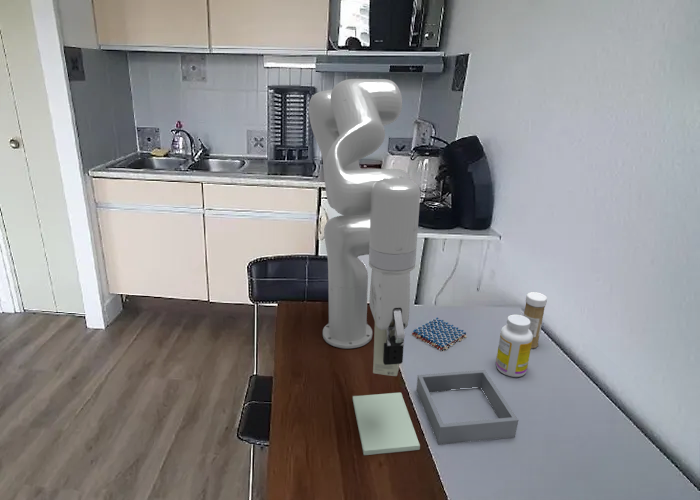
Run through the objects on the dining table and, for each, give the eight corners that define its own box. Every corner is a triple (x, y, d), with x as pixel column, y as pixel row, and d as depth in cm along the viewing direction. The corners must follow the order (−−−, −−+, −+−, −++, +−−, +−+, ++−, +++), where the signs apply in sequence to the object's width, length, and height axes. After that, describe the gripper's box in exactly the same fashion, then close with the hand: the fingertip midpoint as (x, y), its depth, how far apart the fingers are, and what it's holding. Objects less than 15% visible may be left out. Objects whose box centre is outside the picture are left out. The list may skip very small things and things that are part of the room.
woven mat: (409, 336, 112) (409, 329, 112) (435, 322, 119) (435, 315, 118) (442, 354, 105) (442, 347, 104) (468, 338, 112) (468, 332, 111)
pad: (352, 400, 89) (352, 396, 89) (400, 396, 91) (400, 392, 90) (363, 455, 76) (363, 450, 76) (419, 449, 78) (419, 445, 77)
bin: (416, 390, 92) (417, 375, 91) (482, 385, 94) (484, 369, 93) (438, 444, 79) (440, 427, 77) (515, 437, 81) (518, 420, 79)
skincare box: (397, 377, 75) (401, 315, 71) (372, 374, 76) (374, 312, 71) (400, 356, 81) (404, 296, 76) (377, 353, 82) (379, 294, 77)
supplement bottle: (527, 364, 101) (536, 316, 96) (525, 381, 95) (534, 330, 91) (497, 357, 104) (505, 309, 99) (493, 373, 98) (501, 323, 93)
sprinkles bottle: (541, 345, 108) (551, 296, 103) (530, 351, 106) (540, 302, 101) (525, 336, 112) (533, 289, 107) (514, 342, 109) (522, 294, 104)
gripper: (361, 239, 78) (359, 325, 85) (380, 280, 62) (376, 383, 69) (402, 237, 79) (397, 323, 86) (431, 278, 63) (422, 379, 70)
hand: (387, 349), depth 77 cm, fingers closed on skincare box, 7 cm apart
